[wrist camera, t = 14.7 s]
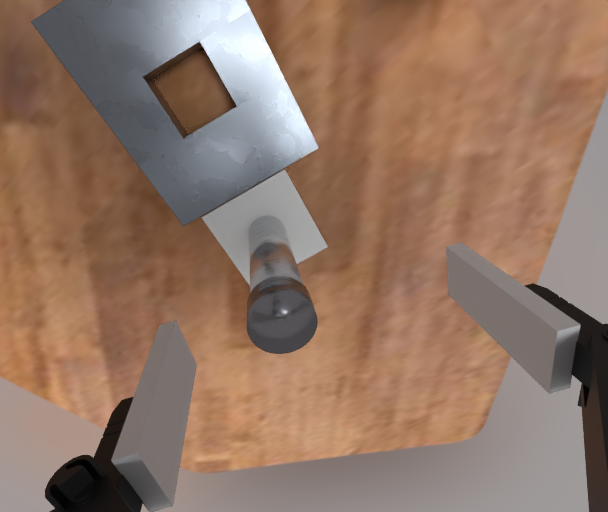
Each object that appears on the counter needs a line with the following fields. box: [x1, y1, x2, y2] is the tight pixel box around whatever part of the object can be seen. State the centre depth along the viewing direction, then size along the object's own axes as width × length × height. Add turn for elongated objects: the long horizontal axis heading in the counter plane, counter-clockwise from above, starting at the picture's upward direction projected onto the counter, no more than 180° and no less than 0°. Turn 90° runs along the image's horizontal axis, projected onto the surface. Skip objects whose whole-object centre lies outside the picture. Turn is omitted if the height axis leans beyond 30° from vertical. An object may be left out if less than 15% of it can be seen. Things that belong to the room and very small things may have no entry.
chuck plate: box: [31, 0, 319, 226], centre depth 25 cm, size 15×12×2 cm
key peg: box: [247, 216, 317, 354], centre depth 24 cm, size 4×4×14 cm
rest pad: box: [201, 169, 328, 285], centre depth 31 cm, size 8×8×1 cm
